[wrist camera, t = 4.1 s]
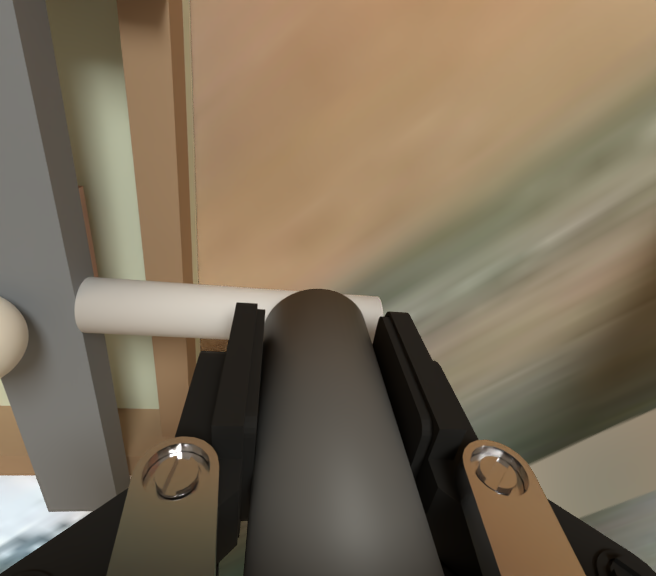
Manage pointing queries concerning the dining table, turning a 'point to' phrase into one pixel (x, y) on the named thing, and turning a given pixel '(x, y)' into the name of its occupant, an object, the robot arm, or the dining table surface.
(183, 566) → the robot arm
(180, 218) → the foosball lane
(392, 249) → the dining table surface
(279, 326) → the kicker rod
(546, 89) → the dining table surface
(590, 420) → the dining table surface
